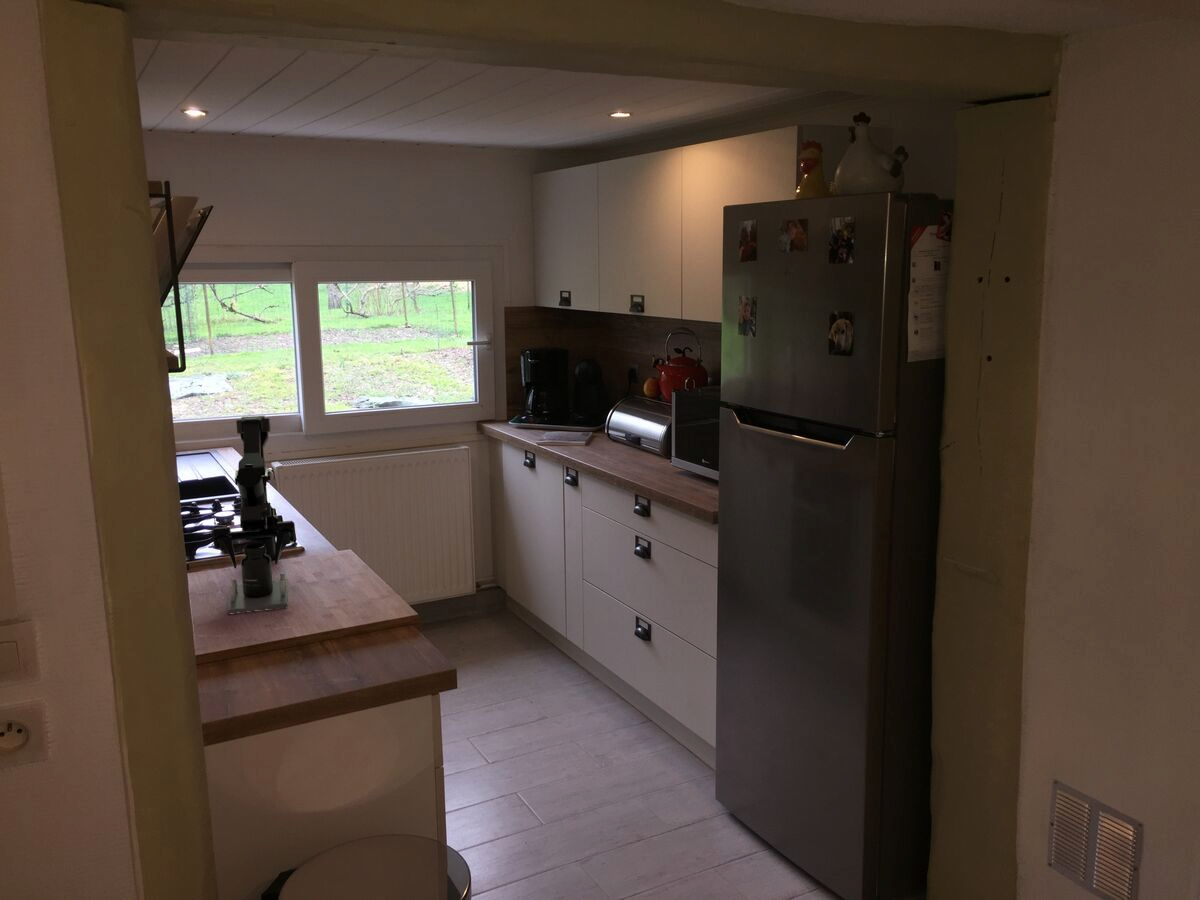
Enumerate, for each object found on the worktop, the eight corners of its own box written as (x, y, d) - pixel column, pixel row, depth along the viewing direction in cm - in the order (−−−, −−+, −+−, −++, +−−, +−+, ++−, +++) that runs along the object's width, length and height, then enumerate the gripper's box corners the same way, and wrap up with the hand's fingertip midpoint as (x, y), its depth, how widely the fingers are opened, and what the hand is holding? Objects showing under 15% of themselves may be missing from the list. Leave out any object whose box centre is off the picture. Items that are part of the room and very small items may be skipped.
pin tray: (233, 590, 239) (231, 571, 238) (288, 583, 242) (286, 565, 241) (227, 614, 222) (225, 595, 221) (287, 608, 225) (285, 588, 224)
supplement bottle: (246, 600, 227) (241, 551, 225) (241, 592, 233) (236, 544, 231) (276, 595, 230) (271, 546, 228) (270, 587, 236) (266, 539, 234)
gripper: (208, 495, 228) (209, 553, 220) (291, 488, 233) (294, 545, 225) (214, 519, 237) (215, 576, 229) (294, 512, 242) (297, 567, 234)
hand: (255, 565), depth 229 cm, fingers open, 9 cm apart
